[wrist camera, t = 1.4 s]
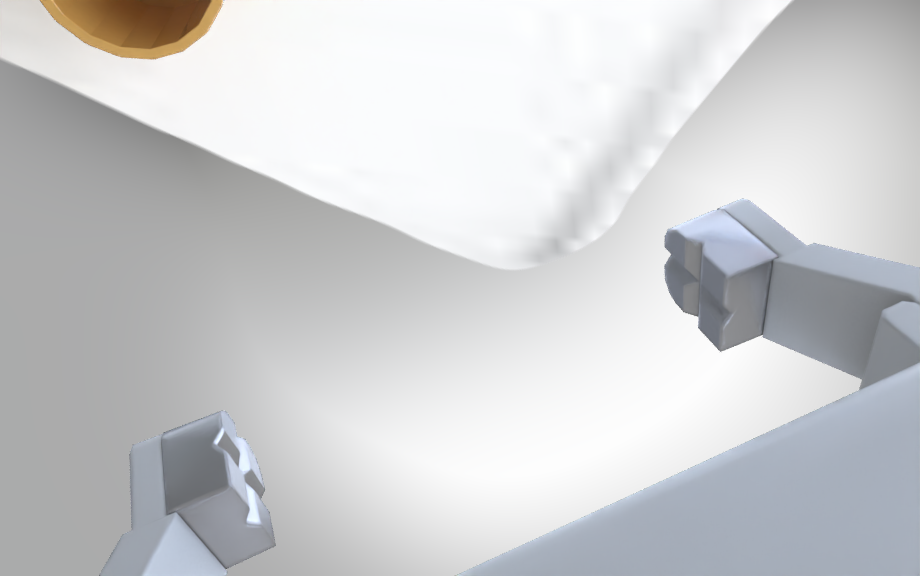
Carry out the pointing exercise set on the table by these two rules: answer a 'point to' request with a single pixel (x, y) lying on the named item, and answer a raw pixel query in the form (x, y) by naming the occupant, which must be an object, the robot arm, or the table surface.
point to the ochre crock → (136, 24)
